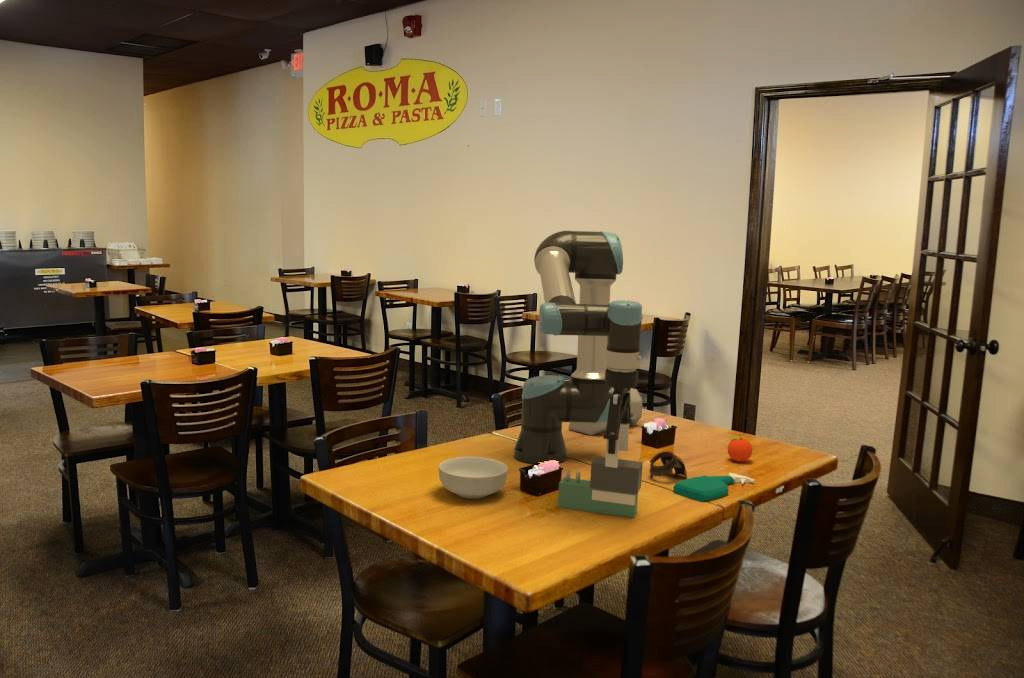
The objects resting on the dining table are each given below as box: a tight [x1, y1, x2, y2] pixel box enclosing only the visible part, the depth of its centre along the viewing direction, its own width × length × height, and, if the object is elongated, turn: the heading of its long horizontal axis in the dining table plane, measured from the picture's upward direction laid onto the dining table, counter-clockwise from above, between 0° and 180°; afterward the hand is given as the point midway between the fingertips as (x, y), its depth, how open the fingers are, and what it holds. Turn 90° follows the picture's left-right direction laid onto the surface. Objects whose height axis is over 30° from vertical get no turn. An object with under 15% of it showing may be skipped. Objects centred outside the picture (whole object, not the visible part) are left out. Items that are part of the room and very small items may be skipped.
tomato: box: [724, 437, 753, 463], centre depth 233 cm, size 8×7×7 cm
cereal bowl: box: [438, 456, 509, 500], centre depth 197 cm, size 17×17×7 cm
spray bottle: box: [673, 472, 756, 502], centre depth 208 cm, size 3×11×24 cm
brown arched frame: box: [649, 450, 688, 480], centre depth 216 cm, size 12×10×8 cm
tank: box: [568, 388, 643, 436], centre depth 265 cm, size 25×16×12 cm, turn 135°
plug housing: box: [589, 456, 643, 495], centre depth 187 cm, size 11×6×6 cm, turn 73°
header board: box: [557, 469, 639, 519], centre depth 189 cm, size 18×5×8 cm, turn 73°
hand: (616, 458), depth 187 cm, fingers open, 13 cm apart
